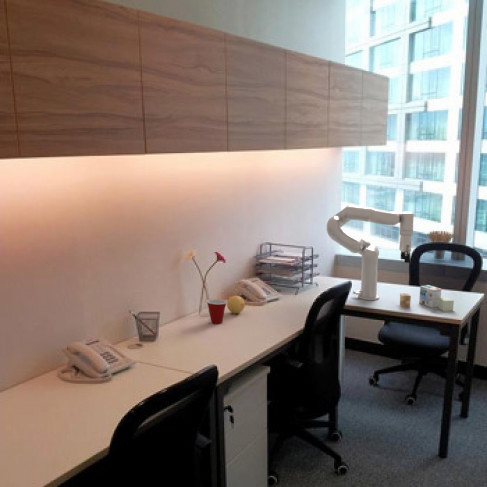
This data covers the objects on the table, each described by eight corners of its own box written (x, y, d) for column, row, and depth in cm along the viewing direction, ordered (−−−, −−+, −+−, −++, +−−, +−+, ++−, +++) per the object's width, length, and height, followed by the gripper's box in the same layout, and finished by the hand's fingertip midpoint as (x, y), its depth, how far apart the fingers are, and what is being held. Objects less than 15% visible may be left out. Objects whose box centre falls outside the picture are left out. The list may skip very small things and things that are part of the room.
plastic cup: (231, 322, 275) (231, 300, 273) (217, 327, 267) (217, 304, 265) (216, 318, 282) (216, 296, 280) (202, 322, 274) (202, 301, 272)
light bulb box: (418, 303, 309) (419, 285, 307) (427, 301, 312) (428, 284, 310) (432, 307, 300) (433, 289, 298) (440, 306, 302) (441, 288, 301)
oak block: (401, 307, 301) (401, 295, 300) (399, 304, 306) (400, 293, 305) (410, 307, 301) (410, 295, 300) (408, 305, 306) (409, 293, 304)
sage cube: (442, 310, 294) (443, 300, 293) (438, 307, 300) (438, 297, 299) (453, 310, 294) (453, 300, 293) (448, 307, 300) (448, 297, 299)
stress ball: (230, 317, 286) (243, 307, 282) (220, 302, 288) (233, 292, 285) (238, 315, 295) (251, 306, 291) (229, 301, 297) (241, 291, 294)
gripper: (396, 230, 317) (395, 258, 319) (403, 234, 299) (402, 263, 302) (409, 230, 316) (408, 258, 319) (416, 234, 299) (415, 263, 302)
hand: (405, 260), depth 311 cm, fingers open, 9 cm apart
